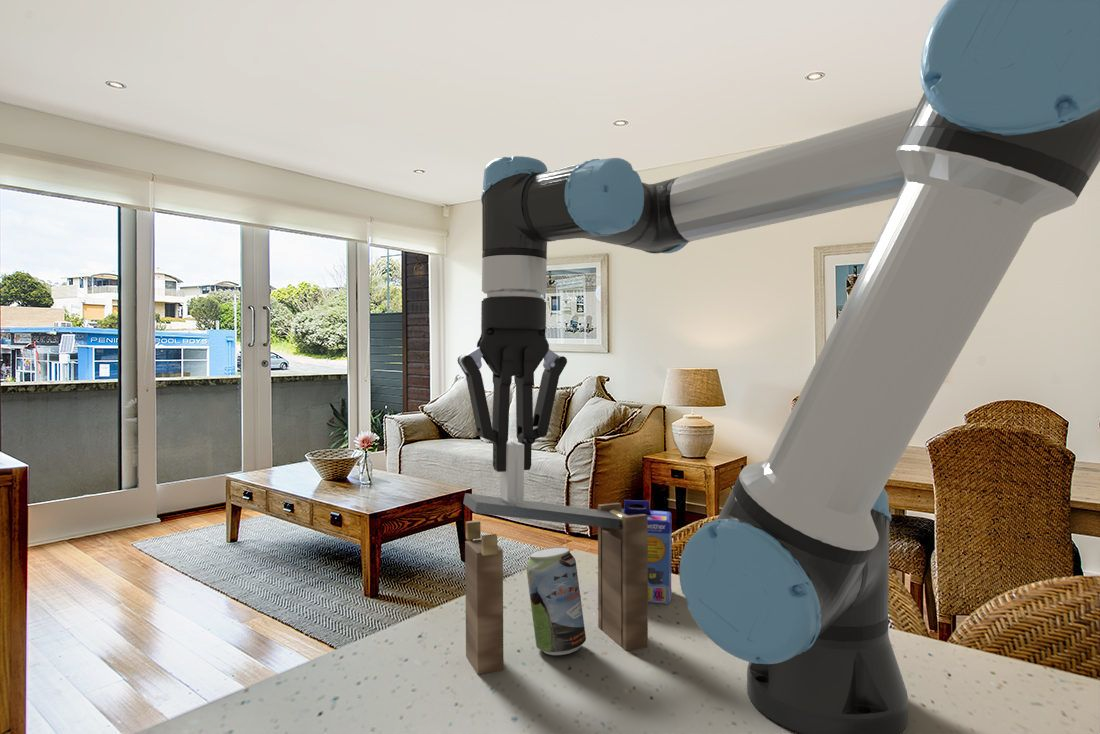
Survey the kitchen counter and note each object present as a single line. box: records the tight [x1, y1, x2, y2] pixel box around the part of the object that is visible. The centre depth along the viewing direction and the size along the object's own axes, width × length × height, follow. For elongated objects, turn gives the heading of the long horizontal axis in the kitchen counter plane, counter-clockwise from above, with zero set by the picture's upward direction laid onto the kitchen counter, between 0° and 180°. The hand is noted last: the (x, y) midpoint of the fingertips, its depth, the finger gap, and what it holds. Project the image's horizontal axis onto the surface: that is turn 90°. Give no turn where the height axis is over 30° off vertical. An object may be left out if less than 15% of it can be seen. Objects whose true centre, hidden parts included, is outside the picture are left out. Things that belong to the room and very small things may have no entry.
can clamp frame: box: [464, 502, 649, 676], centre depth 80 cm, size 21×7×16 cm, turn 112°
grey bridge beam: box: [463, 493, 628, 530], centre depth 79 cm, size 21×5×2 cm, turn 113°
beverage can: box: [525, 546, 587, 656], centre depth 80 cm, size 6×7×12 cm
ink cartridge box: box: [621, 499, 673, 605], centre depth 97 cm, size 10×6×14 cm, turn 79°
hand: (511, 498), depth 78 cm, fingers closed
